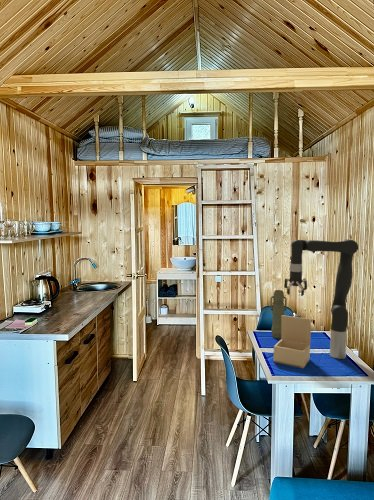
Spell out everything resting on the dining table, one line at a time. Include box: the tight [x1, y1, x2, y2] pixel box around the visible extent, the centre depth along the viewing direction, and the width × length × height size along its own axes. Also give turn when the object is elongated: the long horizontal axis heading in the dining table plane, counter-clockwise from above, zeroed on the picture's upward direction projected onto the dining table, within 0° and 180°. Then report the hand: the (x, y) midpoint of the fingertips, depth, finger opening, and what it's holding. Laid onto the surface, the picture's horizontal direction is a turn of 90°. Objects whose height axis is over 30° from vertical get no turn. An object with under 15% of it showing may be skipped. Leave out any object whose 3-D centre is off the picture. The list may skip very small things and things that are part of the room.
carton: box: [273, 338, 311, 369], centre depth 225 cm, size 18×16×10 cm
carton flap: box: [280, 314, 312, 345], centre depth 234 cm, size 18×16×7 cm
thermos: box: [269, 289, 288, 339], centre depth 273 cm, size 9×12×35 cm
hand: (295, 295), depth 238 cm, fingers open, 8 cm apart
